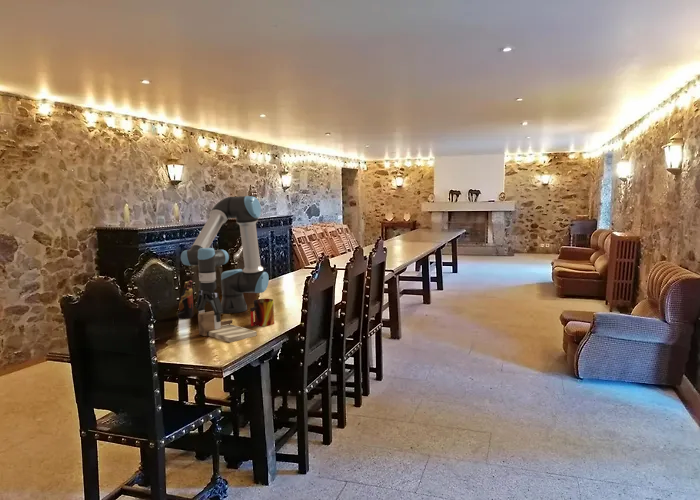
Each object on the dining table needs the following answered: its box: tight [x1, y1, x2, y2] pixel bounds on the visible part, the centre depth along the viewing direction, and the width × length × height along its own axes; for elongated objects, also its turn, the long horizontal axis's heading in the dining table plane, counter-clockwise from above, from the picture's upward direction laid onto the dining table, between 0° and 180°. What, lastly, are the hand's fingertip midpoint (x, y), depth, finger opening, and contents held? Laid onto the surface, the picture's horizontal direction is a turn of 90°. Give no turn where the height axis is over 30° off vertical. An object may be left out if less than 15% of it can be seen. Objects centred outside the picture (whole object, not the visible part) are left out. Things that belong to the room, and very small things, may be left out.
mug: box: [249, 298, 275, 327], centre depth 244 cm, size 10×14×12 cm
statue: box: [177, 279, 195, 320], centre depth 264 cm, size 12×8×20 cm, turn 0°
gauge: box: [197, 310, 233, 337], centre depth 232 cm, size 5×16×10 cm, turn 136°
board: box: [207, 323, 258, 343], centre depth 228 cm, size 24×14×2 cm, turn 46°
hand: (209, 326), depth 230 cm, fingers open, 13 cm apart
